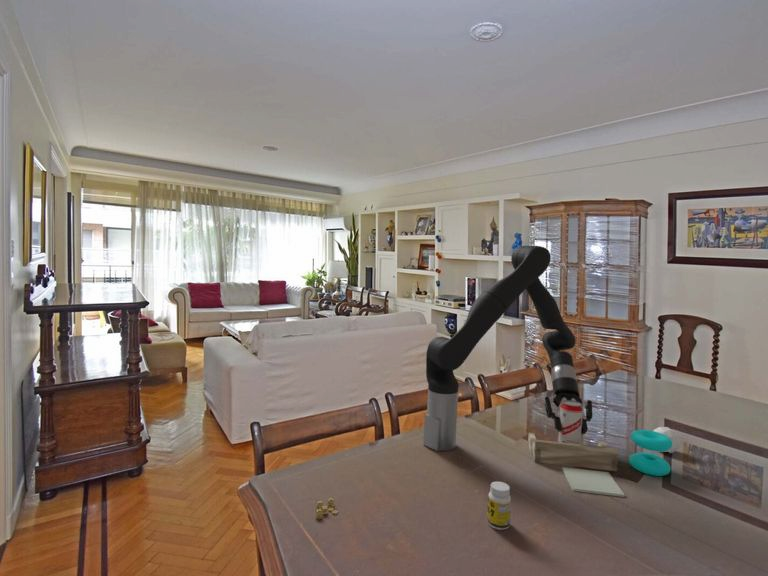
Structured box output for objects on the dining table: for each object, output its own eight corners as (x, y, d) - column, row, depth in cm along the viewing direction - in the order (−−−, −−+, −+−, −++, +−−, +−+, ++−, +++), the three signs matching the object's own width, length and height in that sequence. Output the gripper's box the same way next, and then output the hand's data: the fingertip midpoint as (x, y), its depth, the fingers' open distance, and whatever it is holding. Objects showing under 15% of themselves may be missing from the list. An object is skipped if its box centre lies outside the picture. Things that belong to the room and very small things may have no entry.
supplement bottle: (483, 517, 95) (485, 480, 94) (504, 517, 95) (506, 480, 95) (491, 530, 90) (493, 491, 90) (513, 530, 91) (515, 491, 90)
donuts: (635, 438, 119) (627, 426, 128) (633, 473, 119) (625, 458, 129) (677, 444, 115) (666, 431, 125) (675, 480, 116) (664, 465, 125)
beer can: (582, 461, 126) (585, 407, 125) (559, 458, 127) (562, 405, 126) (577, 452, 132) (580, 400, 131) (555, 449, 133) (558, 398, 132)
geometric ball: (669, 459, 136) (688, 441, 134) (664, 457, 130) (684, 439, 129) (647, 440, 141) (665, 423, 140) (642, 437, 135) (661, 419, 134)
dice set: (316, 522, 92) (316, 513, 92) (311, 509, 96) (312, 501, 96) (339, 518, 93) (339, 509, 93) (333, 506, 98) (334, 497, 98)
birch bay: (617, 471, 120) (618, 450, 120) (534, 462, 124) (535, 441, 124) (602, 452, 132) (603, 433, 132) (527, 444, 136) (528, 426, 136)
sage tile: (624, 497, 106) (624, 494, 106) (572, 490, 108) (573, 488, 108) (608, 474, 118) (608, 472, 118) (561, 469, 120) (562, 467, 120)
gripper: (543, 374, 137) (548, 423, 126) (591, 377, 134) (601, 428, 123) (539, 386, 142) (544, 434, 131) (585, 390, 140) (594, 439, 129)
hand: (571, 431), depth 127 cm, fingers closed on beer can, 6 cm apart
